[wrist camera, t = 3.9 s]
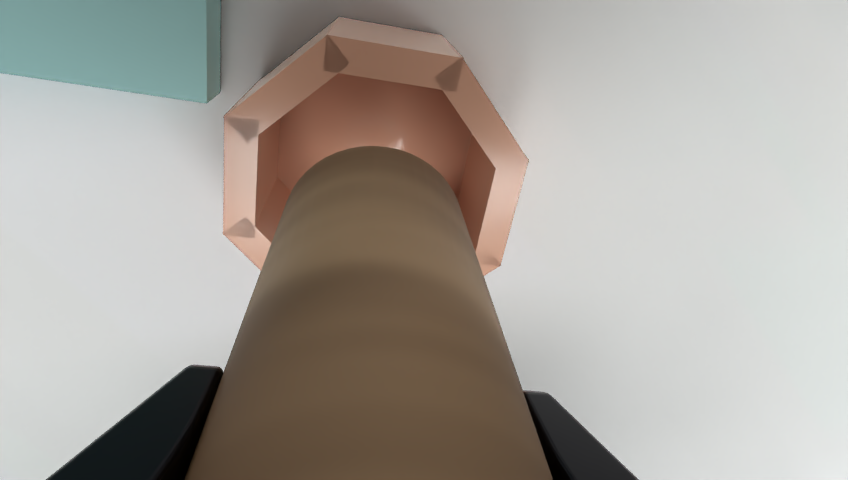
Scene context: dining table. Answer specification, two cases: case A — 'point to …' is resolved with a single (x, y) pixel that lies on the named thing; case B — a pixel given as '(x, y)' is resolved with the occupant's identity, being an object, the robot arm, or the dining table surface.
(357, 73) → the pink octagonal bowl
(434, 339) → the dowel
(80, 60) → the board
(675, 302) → the dining table surface
